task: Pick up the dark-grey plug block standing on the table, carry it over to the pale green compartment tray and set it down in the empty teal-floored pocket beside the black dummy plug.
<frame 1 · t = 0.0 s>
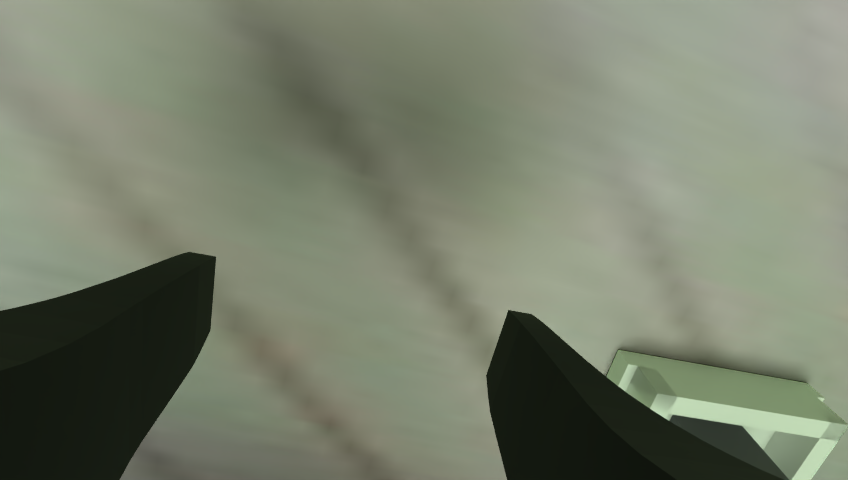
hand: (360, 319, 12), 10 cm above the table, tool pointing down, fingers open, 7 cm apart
dummy plug: (691, 448, 26), resting on pale green compartment tray
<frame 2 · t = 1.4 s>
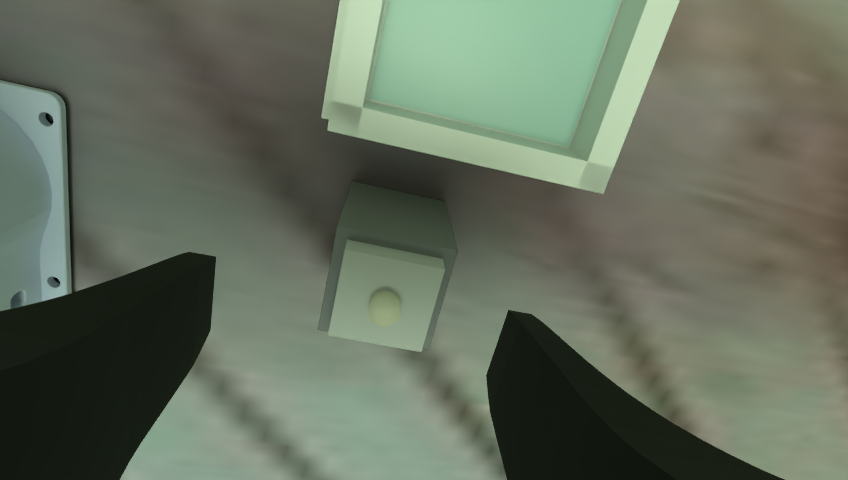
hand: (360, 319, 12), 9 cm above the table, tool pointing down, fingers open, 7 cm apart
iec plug: (389, 234, 21), on the table
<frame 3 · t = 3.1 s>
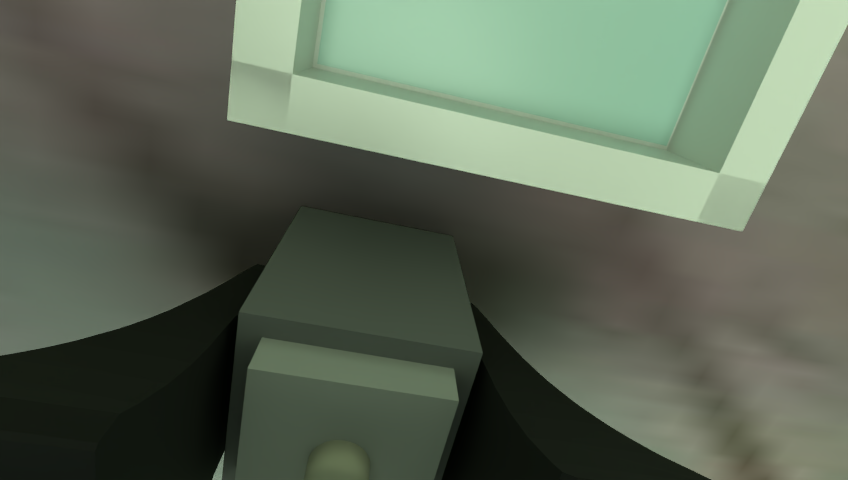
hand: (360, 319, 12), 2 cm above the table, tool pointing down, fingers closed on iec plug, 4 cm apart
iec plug: (364, 287, 13), on the table, touching gripper
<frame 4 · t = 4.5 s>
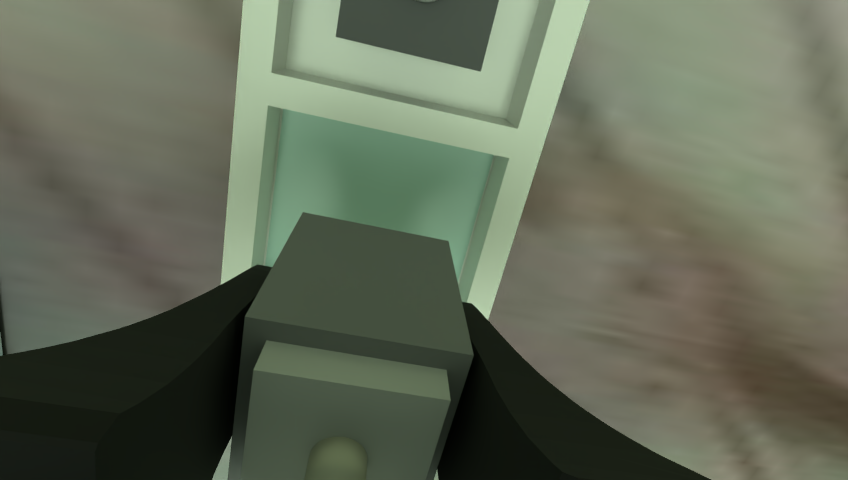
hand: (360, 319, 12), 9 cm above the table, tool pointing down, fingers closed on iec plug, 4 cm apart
pale green compartment tray: (396, 104, 19), on the table
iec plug: (363, 290, 14), point 7 cm above the table, touching gripper
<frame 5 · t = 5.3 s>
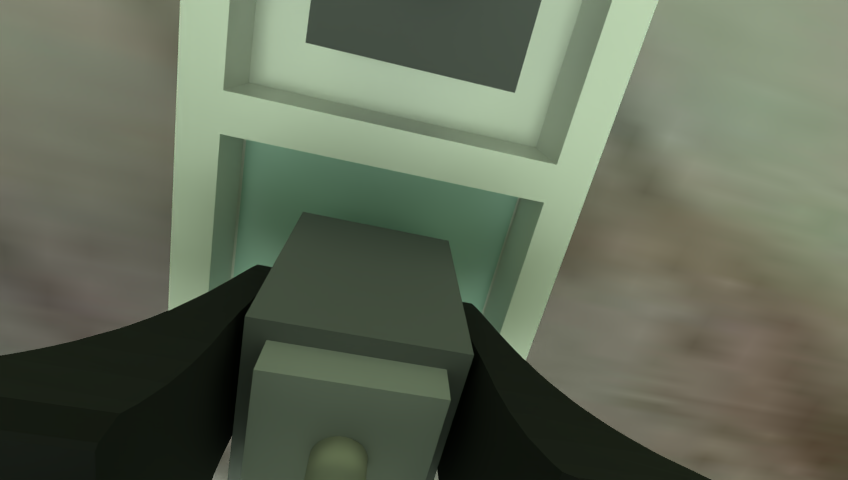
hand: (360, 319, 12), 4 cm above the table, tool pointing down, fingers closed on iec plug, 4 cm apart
pale green compartment tray: (394, 127, 15), on the table
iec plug: (363, 290, 14), point 2 cm above the table, touching gripper
when the fingers open (4 cm above the table, at t = 5.9 s): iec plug stays where it is, resting on pale green compartment tray.
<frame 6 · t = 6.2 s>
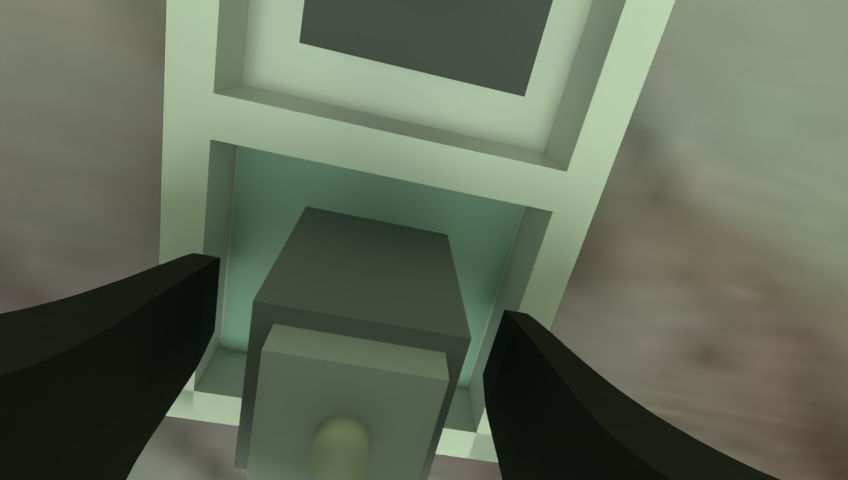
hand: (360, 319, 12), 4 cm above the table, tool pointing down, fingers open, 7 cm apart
pale green compartment tray: (395, 130, 14), on the table
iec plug: (365, 282, 14), point 1 cm above the table, touching pale green compartment tray
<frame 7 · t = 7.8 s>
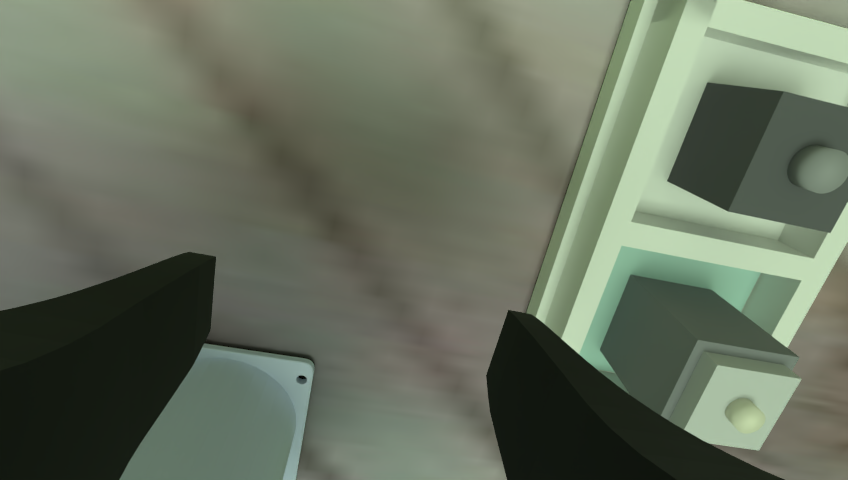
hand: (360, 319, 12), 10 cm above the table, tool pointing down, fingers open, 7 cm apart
pale green compartment tray: (676, 224, 22), on the table
dummy plug: (731, 143, 20), resting on pale green compartment tray
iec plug: (654, 320, 23), point 1 cm above the table, touching pale green compartment tray
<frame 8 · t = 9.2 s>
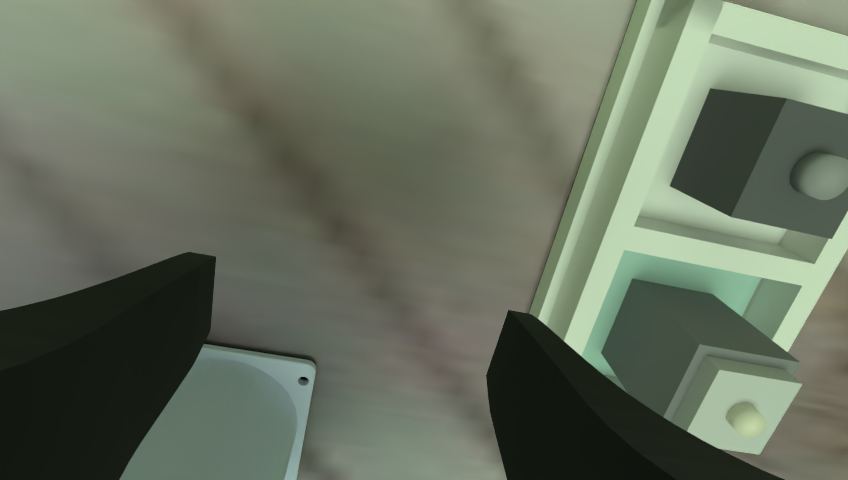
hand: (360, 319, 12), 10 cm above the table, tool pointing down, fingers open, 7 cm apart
pale green compartment tray: (678, 229, 22), on the table
dummy plug: (733, 149, 20), resting on pale green compartment tray
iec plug: (655, 324, 23), point 1 cm above the table, touching pale green compartment tray
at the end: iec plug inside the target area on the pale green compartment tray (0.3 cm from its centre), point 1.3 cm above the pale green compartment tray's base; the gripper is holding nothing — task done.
